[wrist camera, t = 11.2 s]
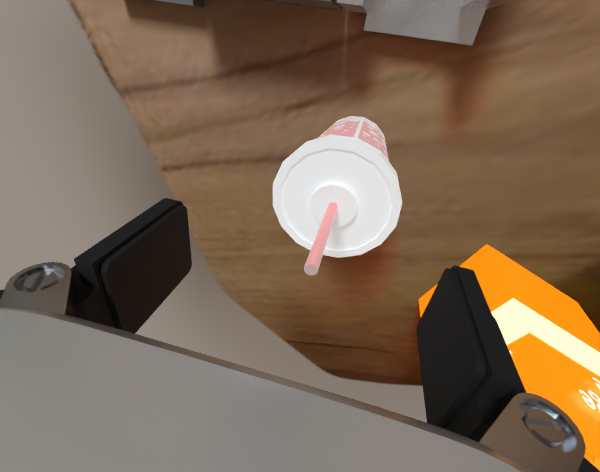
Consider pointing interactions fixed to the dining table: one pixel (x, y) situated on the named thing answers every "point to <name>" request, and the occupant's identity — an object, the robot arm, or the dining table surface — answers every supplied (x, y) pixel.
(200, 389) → the robot arm
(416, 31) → the gray u-channel trough
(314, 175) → the beverage cup
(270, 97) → the dining table surface
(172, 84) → the dining table surface
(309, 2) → the fixed leaf
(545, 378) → the orange juice
